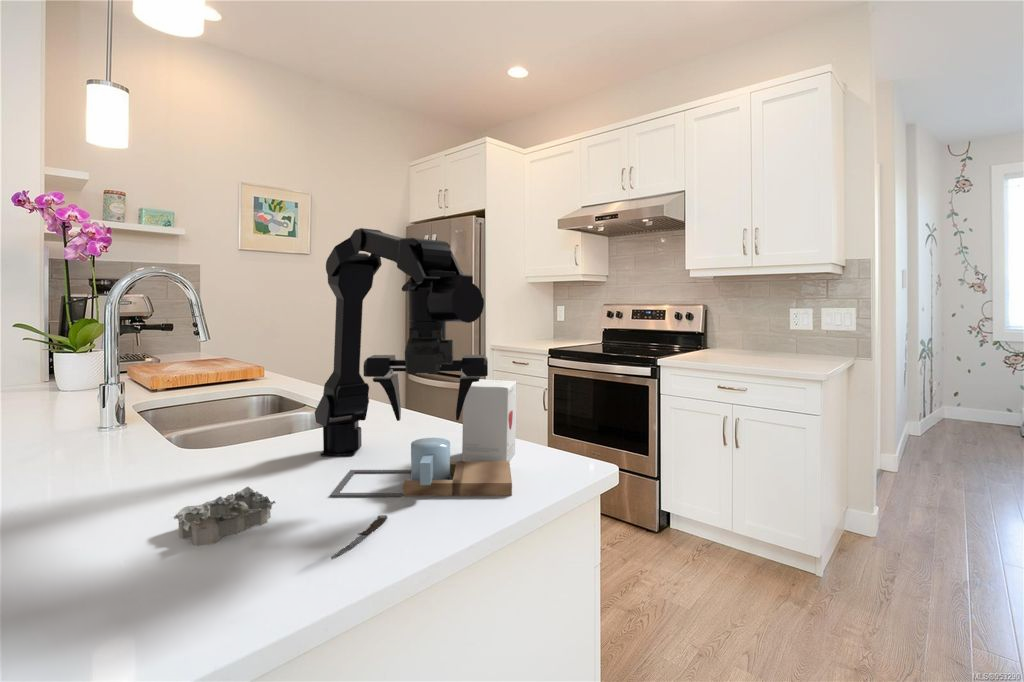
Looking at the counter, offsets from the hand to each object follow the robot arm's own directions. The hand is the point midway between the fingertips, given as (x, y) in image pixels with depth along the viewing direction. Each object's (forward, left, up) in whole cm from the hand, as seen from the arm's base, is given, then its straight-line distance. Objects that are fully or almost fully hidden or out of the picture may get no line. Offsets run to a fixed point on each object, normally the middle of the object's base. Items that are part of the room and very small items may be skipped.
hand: (428, 420), depth 81 cm
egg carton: (-26, -11, -13) cm, 31 cm away
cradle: (+5, +5, -12) cm, 14 cm away
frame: (-9, +5, -12) cm, 16 cm away
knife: (-8, -16, -13) cm, 22 cm away
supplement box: (+10, +19, -12) cm, 25 cm away
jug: (0, +3, -12) cm, 13 cm away
